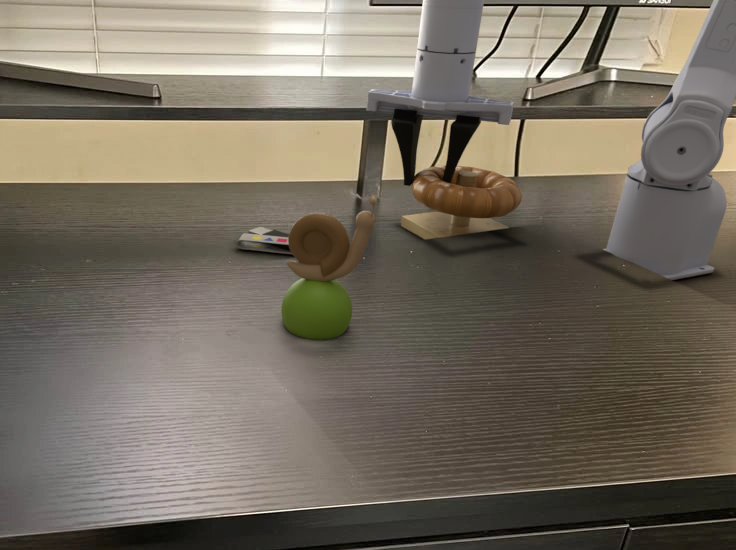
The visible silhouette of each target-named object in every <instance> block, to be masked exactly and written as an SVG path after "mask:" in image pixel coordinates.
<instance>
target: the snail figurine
mask: <svg viewBox="0 0 736 550" xmlns="http://www.w3.org/2000/svg"><path fill="white" fill-rule="evenodd" d="M369 203H370V205H371V206H372V211H370V210H362V211H360V212H358V214H356V217H355V231H354V234H353V237H352V239H351V241H350V238H349V234H348V231H347V230H346V228H345V226H344V224H343V223H342V222H341V221H339V220H338V218H336V217H335V216H333V215H331V214H327V213H324V212H311V213H306V214H305V215H302V216H301V217H299V218H298V219H296V220H295V222H294V223H293V224H292V226H291V228H290V229H289V232H288V234H289V237H288V243H289V248H290V251H291V253H292V254H291V255H292V256H293V257H294V258H295V259H296V260H297V261H295V260H287V261H286V265H287V267H288V268H289V269H290V270H291V272H293V273H294V274H295V275H296V276H297V277H299V279H297V280H296V281H295V282H294V283H292V284H291V285H290V286H289V288H288V289H287V290H286V292H285V293H284V296H283V299H282V301H281V310H280V311H281V312H280V313H281V318H282V322H283V325H284V326H285V329H287V331H288V332H290V333H291V334H293V335H295V336H298V337H301V338H304V339H309V340H330V339H334V338H337V337H340V336H342V335H343V334H344V333H345V332H346V330H348V327H349V326H350V323H351V321H352V316H353V303H352V299H351V297H350V294H349V292H348V290H347V289H346V288H345V287H344V285H343V284H342V283H340V282H339V281H338V279H340V278H344V277H345V276H348V275H349V274H350V273H352V272H353V271H354V270H355V269H356V267H357V266H358V264H359V263H360V261H361V259H362V257H363V255H364V253H365V251H366V247H367V245H368V242H369V239H370V235H371V232H372V230H373V228H374V227H375V221H376V219H377V217H376V216H375V213H374V211H375V206H376V205H377V203H378V195H377V194H372V195H371V196H370V199H369Z"/></svg>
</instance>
